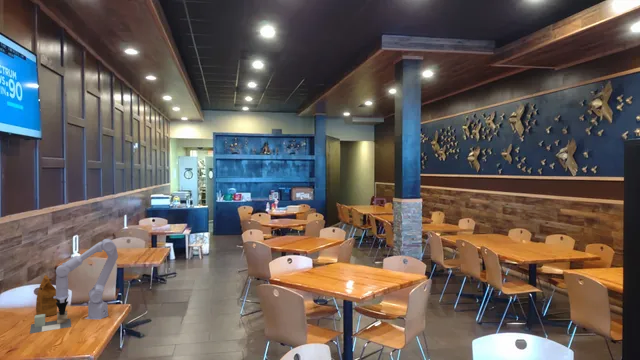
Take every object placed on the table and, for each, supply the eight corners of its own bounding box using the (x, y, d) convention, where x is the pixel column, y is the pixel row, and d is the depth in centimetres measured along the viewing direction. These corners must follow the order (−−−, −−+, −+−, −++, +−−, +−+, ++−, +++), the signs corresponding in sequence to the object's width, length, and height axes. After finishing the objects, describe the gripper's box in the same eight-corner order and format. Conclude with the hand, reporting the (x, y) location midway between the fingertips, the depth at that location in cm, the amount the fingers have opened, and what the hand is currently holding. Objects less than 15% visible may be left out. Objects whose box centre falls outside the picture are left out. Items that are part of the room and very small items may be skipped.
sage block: (45, 323, 224) (45, 313, 224) (45, 325, 220) (45, 316, 220) (34, 324, 221) (34, 315, 221) (34, 327, 217) (34, 317, 217)
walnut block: (67, 319, 229) (67, 310, 229) (67, 322, 225) (67, 313, 225) (57, 321, 227) (57, 312, 227) (57, 323, 223) (57, 314, 223)
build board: (70, 319, 231) (70, 318, 231) (71, 327, 219) (71, 326, 219) (31, 325, 222) (31, 324, 222) (29, 334, 209) (29, 333, 209)
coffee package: (55, 310, 246) (54, 273, 246) (58, 316, 237) (58, 277, 236) (34, 314, 240) (34, 275, 239) (37, 319, 230) (37, 280, 230)
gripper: (53, 285, 230) (53, 310, 230) (53, 292, 217) (53, 317, 218) (68, 283, 233) (68, 308, 234) (69, 290, 221) (68, 315, 221)
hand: (61, 312), depth 226 cm, fingers open, 7 cm apart
